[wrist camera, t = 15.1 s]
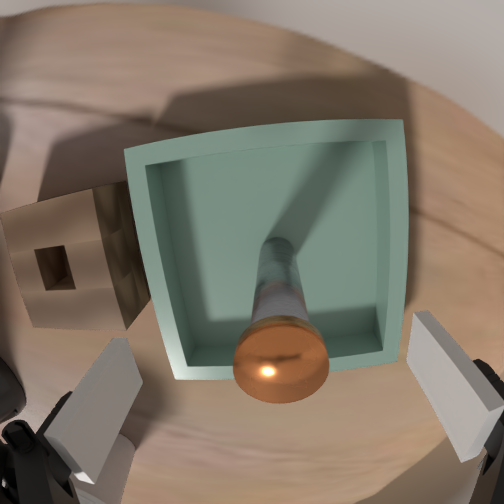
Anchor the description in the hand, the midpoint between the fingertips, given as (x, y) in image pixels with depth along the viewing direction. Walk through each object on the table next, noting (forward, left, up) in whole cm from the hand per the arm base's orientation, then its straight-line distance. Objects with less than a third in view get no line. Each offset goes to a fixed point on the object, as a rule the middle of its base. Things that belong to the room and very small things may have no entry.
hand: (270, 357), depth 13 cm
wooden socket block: (+2, +19, -16) cm, 24 cm away
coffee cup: (-29, +27, -16) cm, 42 cm away
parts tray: (0, 0, -16) cm, 16 cm away
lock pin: (0, 0, -14) cm, 14 cm away
